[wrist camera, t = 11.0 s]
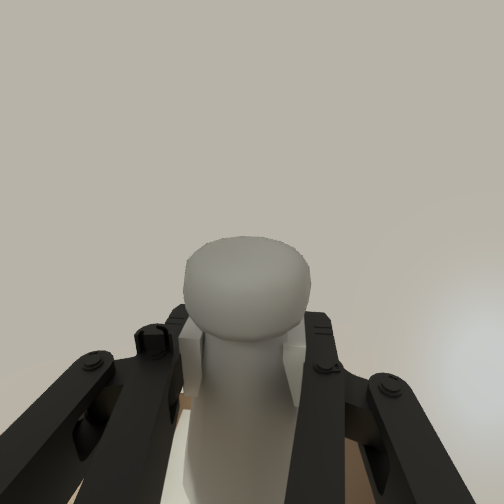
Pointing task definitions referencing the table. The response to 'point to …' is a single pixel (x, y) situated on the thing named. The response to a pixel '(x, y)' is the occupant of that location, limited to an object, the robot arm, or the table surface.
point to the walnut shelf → (173, 494)
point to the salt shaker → (243, 369)
